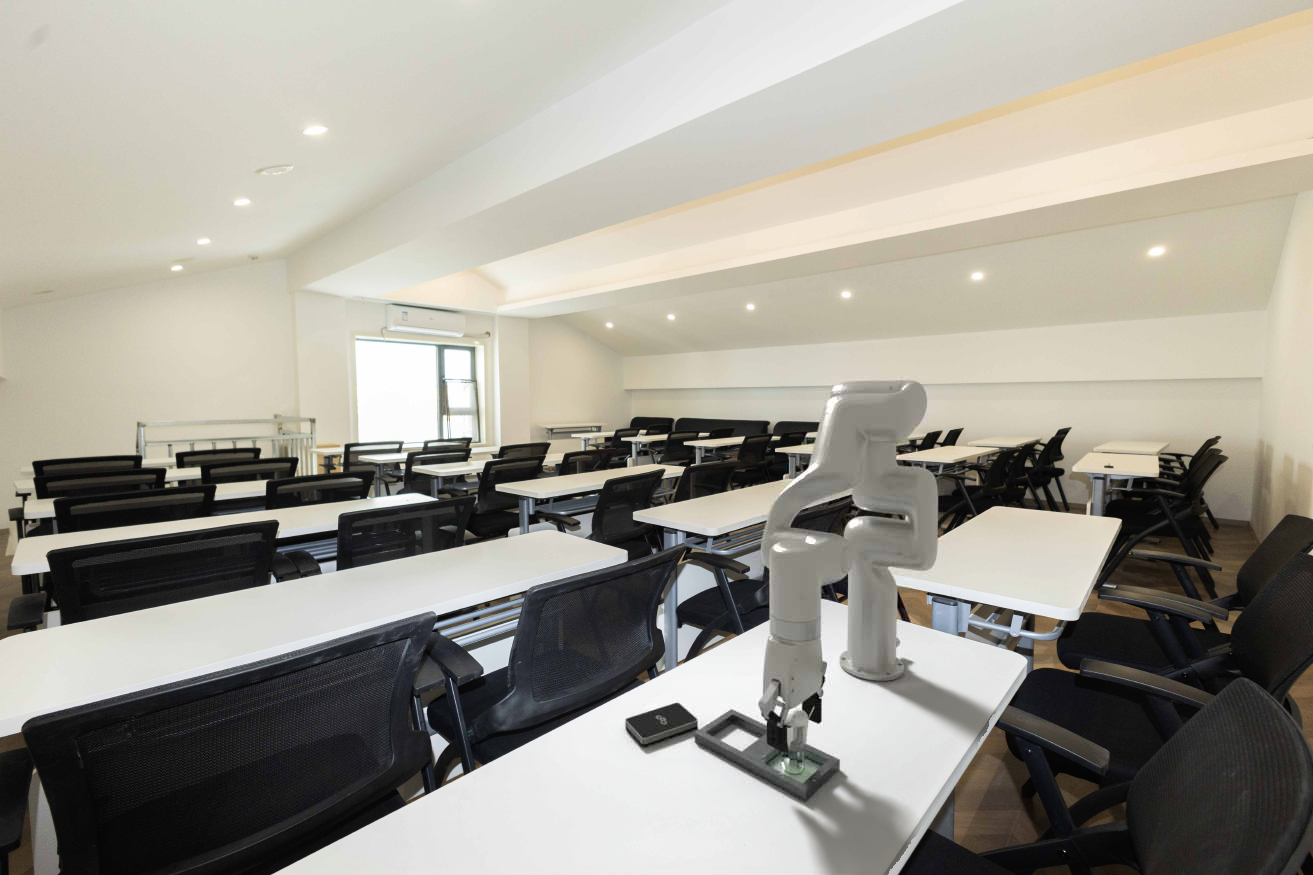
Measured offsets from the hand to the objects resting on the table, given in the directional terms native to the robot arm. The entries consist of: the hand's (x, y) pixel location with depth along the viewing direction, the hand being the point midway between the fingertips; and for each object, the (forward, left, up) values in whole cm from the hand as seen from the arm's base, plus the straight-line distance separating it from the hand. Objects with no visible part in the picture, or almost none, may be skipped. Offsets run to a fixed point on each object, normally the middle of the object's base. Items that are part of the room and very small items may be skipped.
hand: (794, 733), depth 90 cm
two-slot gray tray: (0, -5, -6) cm, 8 cm away
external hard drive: (+6, -22, -6) cm, 24 cm away
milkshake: (0, 0, -6) cm, 6 cm away
